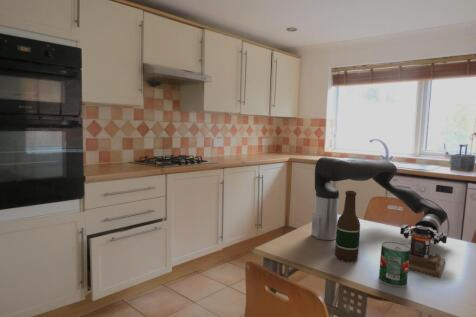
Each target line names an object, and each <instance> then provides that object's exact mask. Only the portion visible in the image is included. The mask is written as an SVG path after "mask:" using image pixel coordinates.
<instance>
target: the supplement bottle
mask: <svg viewBox="0 0 476 317" xmlns="http://www.w3.org/2000/svg"><path fill="white" fill-rule="evenodd" d="M428 232H429V229H428V228H427V227H423V226H416V227H415V232H413V233H412V235H411V236H410V246H409V247H410V255H414V256H418V257H422V258H426V259H429V255H431V254H430V252H431V243H432V241H431V236H430V235H429V233H428Z"/></svg>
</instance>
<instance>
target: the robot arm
mask: <svg viewBox="0 0 476 317" xmlns="http://www.w3.org/2000/svg"><path fill="white" fill-rule="evenodd" d="M397 171H398V169H397V166H396V165H395V164H394V163H392V162H390V161H388V160H373V161H372V160H364V159H363V160H362V159H361V160H360V159H357V160H352V161H347V160H342V159H339V158H332V157H322V156H321V157H320V158H318V159H317V160H316V163H315V168H314V191H315V202H314V205H315V206H314V212H312V219H311V235H312V236H313V237H314V238H315V239H317V240H323V241H332V240H336V230H337V222H338V215H339V213H338V212H339V199H340V191H339V189H337V188H336V187H335V186H333V184H332V183H331V182H340V181H341V182H342V181H347V180H350V181H355V182H357V181H358V182H359V181H360V182H363V181H364V182H365V181H368V180H373V181H374V182H375V183H376V184H377V185H379V186H380V187H382V188H384V190H386V191H387V192H389V194H392V195H393V196H395V197H396V198H397V199H399V200H400V201H401V202H402V203H404V205H405V206H407V207H408V209H410V210H411V211H412V212H413V213H415V214H420V213H423V212H424V211H426V210H427V211H426V212H425V213H424V214H423V216H421V218H420V219H419V220H418V221H417V222H416V223H415V225H414V226H409V224H407V223H404V224H403V225H402V226H400V235H403V237H404V238H405V239H409V237H411V235H412V233H413V232H415V227H416V226H423V227H427V228H428V229H429V232H428V233H429V235H430V236H431V242H433V245H436V244H439V243H443V244H447V240H448V232H447V231H441V232H440V228H441V226H442V224H444V222H446V221H447V219H448V213H447V212H446V211H445V209H443V208H442V207H440V206H437V205H434V204H432V203H431V202H428V200H426V199H425V198H424V197H423V196H421V195H420V194H419V193H417V192H416V191H415V190H413V189H411V188H408V187H401V186H395V185H394V184H392V183H391V180H393V178H394V176H396V174H397Z"/></svg>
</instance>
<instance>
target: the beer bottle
mask: <svg viewBox="0 0 476 317" xmlns="http://www.w3.org/2000/svg"><path fill="white" fill-rule="evenodd" d="M344 194H345V200H344V207H343V212H342V214H340V216H339V217H338V218H337V229H336V238H335V247H334V256H335V258H336V259H337V260H339V261H342V262H345V263H355V262H356V261H357V260H358V259H359V249H360V248H359V247H360V237H361V236H360V235H361V224H360V223H361V222H360V220H359V217H358V216H357V214H356V213H357V212H356V197H357V192H356V191H354V190H346V191H345V193H344Z"/></svg>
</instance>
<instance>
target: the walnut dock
mask: <svg viewBox="0 0 476 317" xmlns="http://www.w3.org/2000/svg"><path fill="white" fill-rule="evenodd" d="M445 263H446V257H441V253H440V252H437V251H436V253H435V254H433V255H432V254H430V255H429V259H426V258H422V257H418V256H414V255H410V256H409V267H408V271H412V272H414V273H415V272H416V273H419V274H423V275H427V276H430V277H435V278H438V279H440V277H441V273H442V270H443V268H444V265H445Z"/></svg>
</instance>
